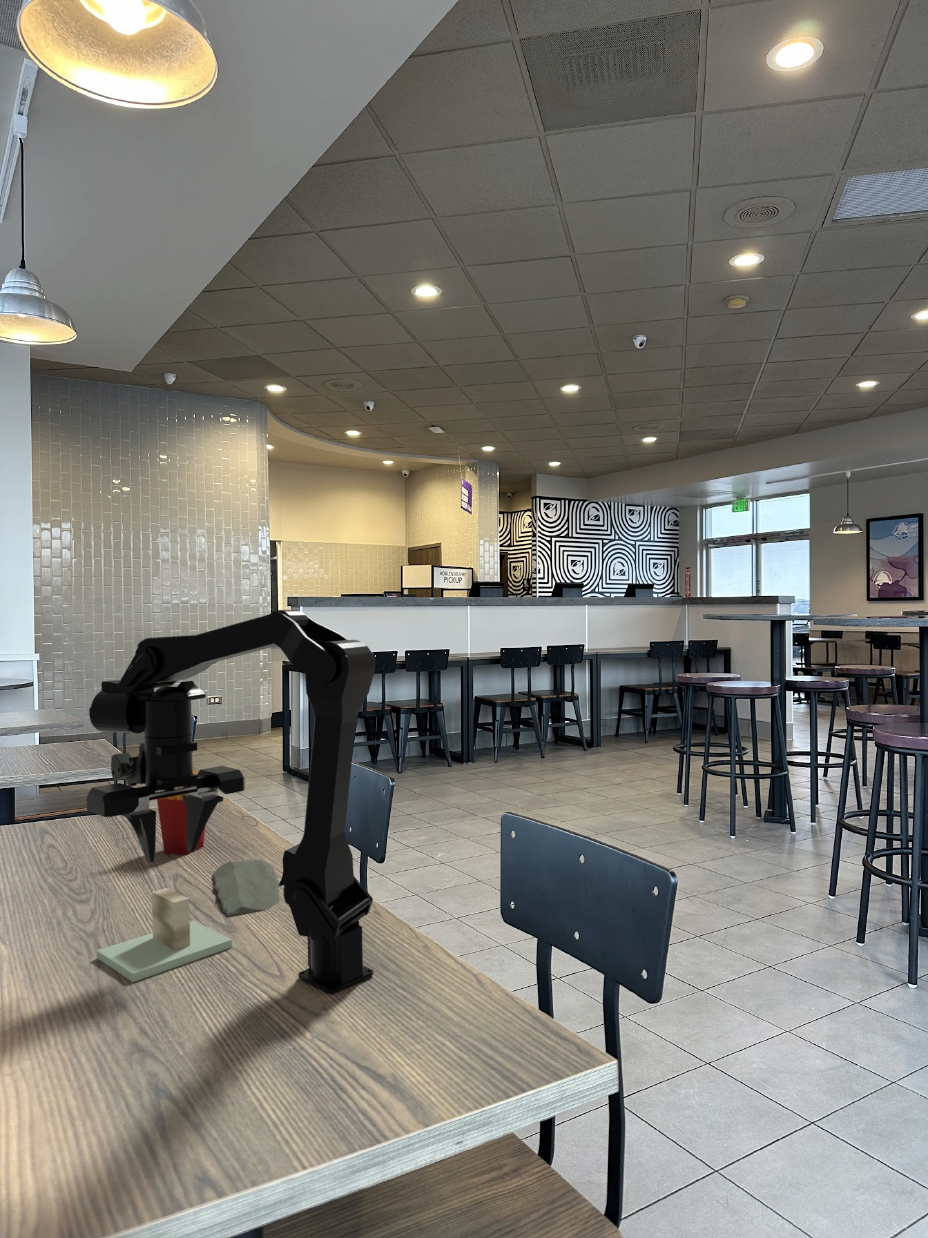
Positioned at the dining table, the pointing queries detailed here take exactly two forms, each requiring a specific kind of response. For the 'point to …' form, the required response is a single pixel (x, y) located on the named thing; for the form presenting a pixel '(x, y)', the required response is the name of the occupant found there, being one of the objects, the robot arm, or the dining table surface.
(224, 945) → the mat
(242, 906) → the stone slab
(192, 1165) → the dining table surface
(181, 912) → the beige flat box
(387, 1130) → the dining table surface
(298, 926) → the robot arm
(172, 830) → the french fries
